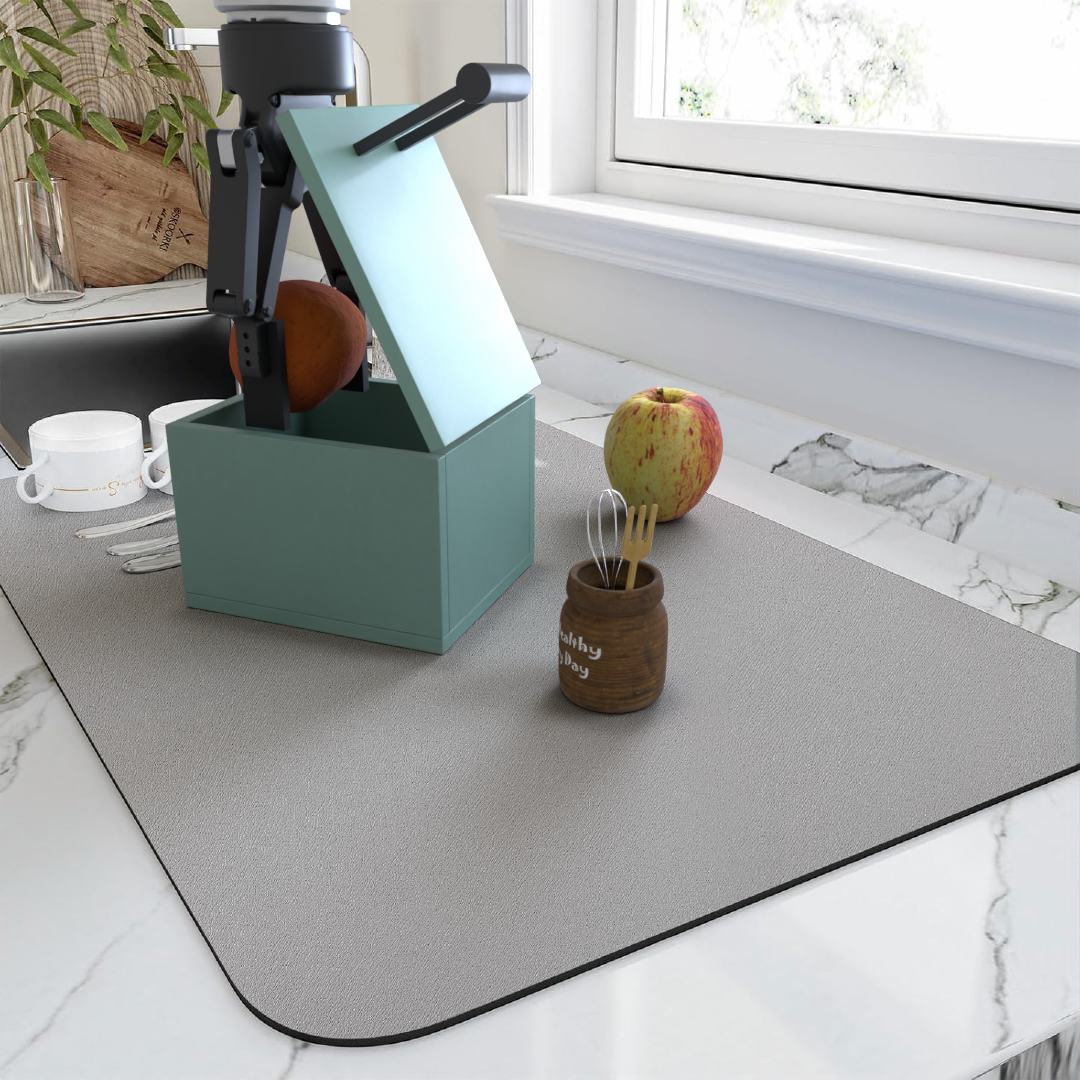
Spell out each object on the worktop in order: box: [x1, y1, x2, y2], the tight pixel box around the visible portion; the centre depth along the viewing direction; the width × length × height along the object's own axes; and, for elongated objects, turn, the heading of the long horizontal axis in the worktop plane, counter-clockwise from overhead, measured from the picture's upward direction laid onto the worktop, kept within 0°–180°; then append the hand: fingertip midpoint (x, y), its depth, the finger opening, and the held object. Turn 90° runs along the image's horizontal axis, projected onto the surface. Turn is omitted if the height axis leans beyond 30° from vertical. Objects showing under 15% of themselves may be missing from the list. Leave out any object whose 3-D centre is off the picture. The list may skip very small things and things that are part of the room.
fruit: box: [228, 279, 368, 413], centre depth 73 cm, size 9×9×8 cm
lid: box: [275, 62, 542, 452], centre depth 66 cm, size 19×15×10 cm
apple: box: [603, 386, 724, 523], centre depth 88 cm, size 9×9×10 cm
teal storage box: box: [164, 376, 536, 655], centre depth 75 cm, size 18×15×12 cm
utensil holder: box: [557, 489, 669, 714], centre depth 62 cm, size 6×6×12 cm
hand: (310, 406), depth 74 cm, fingers closed on fruit, 9 cm apart
